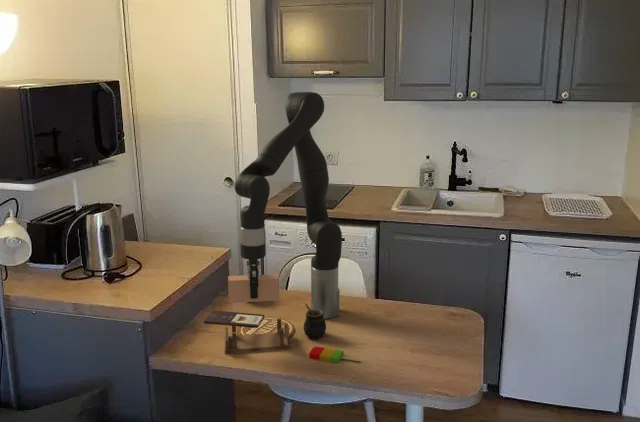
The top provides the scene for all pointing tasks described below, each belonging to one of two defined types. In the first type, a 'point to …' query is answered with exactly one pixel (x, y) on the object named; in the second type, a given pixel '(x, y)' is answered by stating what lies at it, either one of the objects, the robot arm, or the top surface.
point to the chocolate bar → (234, 318)
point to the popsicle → (328, 355)
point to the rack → (257, 340)
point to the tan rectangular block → (241, 288)
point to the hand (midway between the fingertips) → (253, 294)
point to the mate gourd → (314, 324)
